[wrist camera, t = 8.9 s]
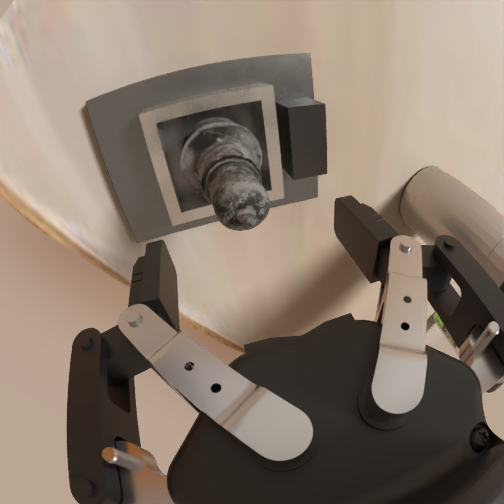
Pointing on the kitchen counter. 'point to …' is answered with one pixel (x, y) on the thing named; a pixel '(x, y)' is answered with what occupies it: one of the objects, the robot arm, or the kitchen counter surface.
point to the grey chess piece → (226, 171)
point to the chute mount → (199, 108)
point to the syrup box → (445, 332)
